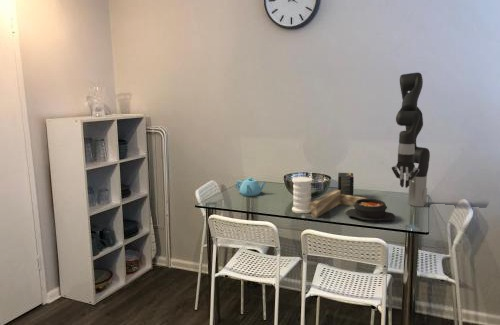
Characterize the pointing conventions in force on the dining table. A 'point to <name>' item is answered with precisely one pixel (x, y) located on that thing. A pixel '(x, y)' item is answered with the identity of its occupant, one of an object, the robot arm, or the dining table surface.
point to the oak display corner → (331, 202)
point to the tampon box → (346, 183)
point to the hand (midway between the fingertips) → (404, 186)
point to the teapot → (249, 187)
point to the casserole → (370, 210)
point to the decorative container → (302, 195)
